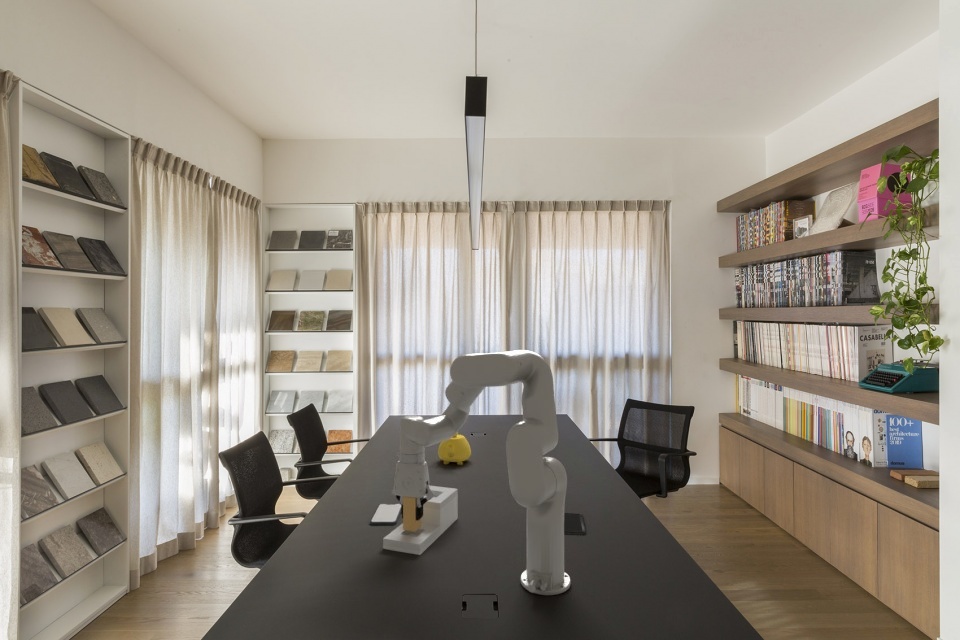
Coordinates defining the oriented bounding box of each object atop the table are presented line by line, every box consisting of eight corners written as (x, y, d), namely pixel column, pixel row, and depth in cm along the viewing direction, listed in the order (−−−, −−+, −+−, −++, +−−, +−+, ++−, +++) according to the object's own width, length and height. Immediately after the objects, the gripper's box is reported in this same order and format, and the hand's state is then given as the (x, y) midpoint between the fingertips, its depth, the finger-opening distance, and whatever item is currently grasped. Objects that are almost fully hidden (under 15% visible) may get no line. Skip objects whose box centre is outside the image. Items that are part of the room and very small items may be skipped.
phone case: (396, 527, 167) (403, 507, 183) (396, 522, 167) (403, 503, 183) (369, 527, 167) (379, 508, 183) (369, 522, 167) (378, 503, 183)
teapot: (466, 470, 227) (465, 439, 227) (431, 468, 229) (431, 438, 229) (473, 457, 246) (473, 429, 246) (442, 456, 249) (442, 428, 249)
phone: (582, 513, 174) (586, 532, 159) (582, 517, 174) (586, 535, 159) (559, 512, 175) (560, 530, 160) (559, 516, 175) (560, 534, 160)
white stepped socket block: (420, 555, 146) (419, 520, 146) (383, 548, 150) (383, 514, 150) (457, 518, 172) (457, 488, 172) (425, 513, 176) (425, 485, 176)
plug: (415, 531, 152) (415, 498, 152) (403, 529, 153) (403, 496, 153) (421, 526, 156) (421, 493, 156) (409, 524, 157) (409, 492, 157)
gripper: (381, 458, 154) (381, 518, 154) (431, 463, 148) (431, 526, 148) (393, 451, 161) (394, 509, 161) (442, 456, 155) (442, 517, 155)
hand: (412, 517), depth 155 cm, fingers closed on plug, 3 cm apart
